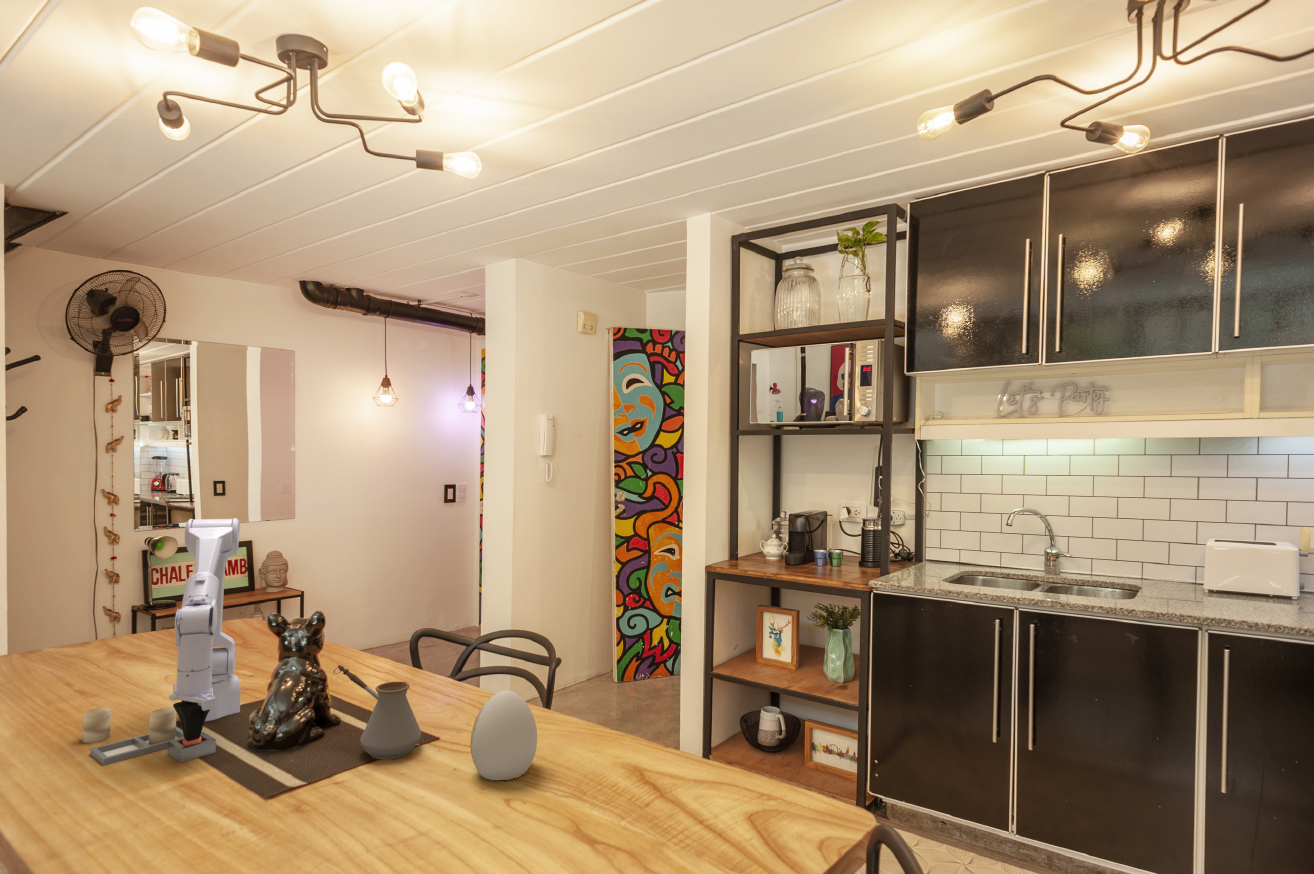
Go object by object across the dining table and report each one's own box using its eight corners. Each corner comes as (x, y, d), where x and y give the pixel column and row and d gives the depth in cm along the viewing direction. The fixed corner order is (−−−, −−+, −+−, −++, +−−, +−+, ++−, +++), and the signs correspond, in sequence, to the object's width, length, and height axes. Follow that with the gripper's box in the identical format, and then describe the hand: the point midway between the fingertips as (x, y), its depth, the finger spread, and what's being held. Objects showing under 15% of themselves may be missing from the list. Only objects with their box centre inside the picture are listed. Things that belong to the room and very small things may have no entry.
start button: (197, 747, 140) (197, 734, 140) (203, 751, 138) (204, 738, 138) (179, 752, 138) (180, 739, 138) (186, 756, 136) (186, 743, 136)
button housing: (202, 749, 142) (202, 731, 142) (215, 757, 139) (215, 739, 139) (167, 759, 138) (168, 741, 138) (180, 768, 134) (180, 749, 134)
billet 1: (105, 735, 147) (106, 706, 147) (113, 741, 145) (114, 711, 145) (78, 742, 144) (80, 711, 144) (86, 748, 141) (87, 717, 141)
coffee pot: (433, 746, 146) (435, 672, 146) (390, 768, 136) (392, 688, 136) (357, 727, 155) (359, 657, 156) (311, 746, 145) (313, 671, 145)
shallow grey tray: (175, 737, 148) (176, 726, 148) (191, 746, 144) (191, 735, 144) (89, 760, 137) (90, 748, 137) (103, 771, 132) (103, 759, 132)
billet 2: (170, 736, 146) (171, 706, 146) (178, 741, 143) (180, 711, 143) (144, 742, 142) (146, 712, 143) (153, 748, 140) (154, 717, 140)
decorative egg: (513, 752, 144) (514, 677, 144) (549, 772, 135) (551, 692, 135) (457, 770, 135) (459, 690, 136) (492, 793, 127) (494, 707, 127)
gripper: (156, 665, 140) (153, 735, 139) (186, 680, 131) (184, 755, 131) (196, 657, 145) (194, 725, 145) (228, 671, 137) (226, 743, 136)
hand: (192, 739), depth 138 cm, fingers closed, pressing on start button
